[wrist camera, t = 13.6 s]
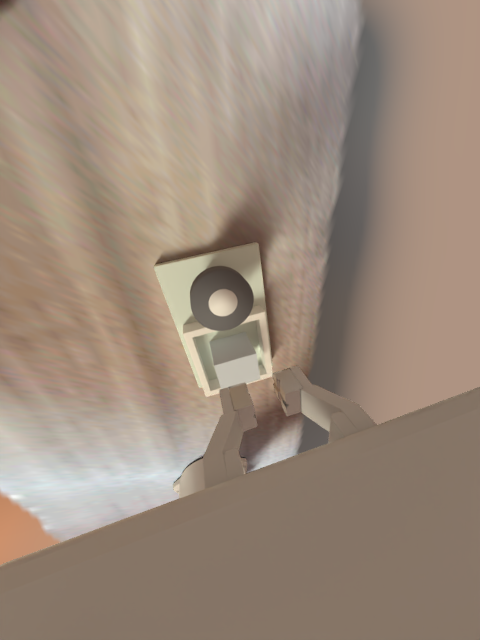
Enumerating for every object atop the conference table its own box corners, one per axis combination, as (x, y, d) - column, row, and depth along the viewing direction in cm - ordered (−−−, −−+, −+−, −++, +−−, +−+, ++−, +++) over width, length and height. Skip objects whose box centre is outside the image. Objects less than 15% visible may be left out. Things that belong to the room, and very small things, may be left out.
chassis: (269, 360, 40) (278, 374, 36) (198, 382, 38) (200, 398, 34) (255, 242, 29) (264, 246, 25) (154, 264, 27) (150, 271, 24)
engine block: (249, 355, 36) (260, 379, 31) (216, 365, 35) (221, 391, 30) (245, 331, 33) (256, 353, 28) (209, 341, 33) (214, 365, 28)
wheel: (251, 313, 27) (257, 322, 25) (198, 327, 26) (200, 337, 24) (242, 259, 23) (249, 264, 21) (182, 273, 22) (181, 280, 20)
